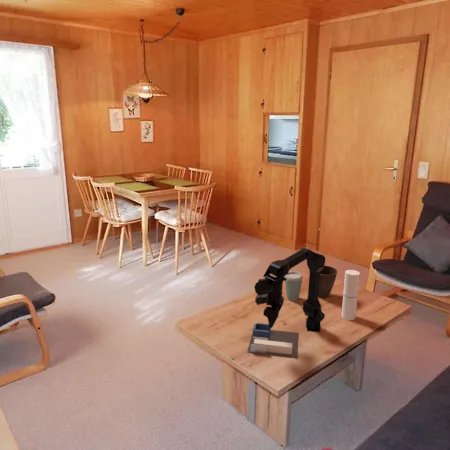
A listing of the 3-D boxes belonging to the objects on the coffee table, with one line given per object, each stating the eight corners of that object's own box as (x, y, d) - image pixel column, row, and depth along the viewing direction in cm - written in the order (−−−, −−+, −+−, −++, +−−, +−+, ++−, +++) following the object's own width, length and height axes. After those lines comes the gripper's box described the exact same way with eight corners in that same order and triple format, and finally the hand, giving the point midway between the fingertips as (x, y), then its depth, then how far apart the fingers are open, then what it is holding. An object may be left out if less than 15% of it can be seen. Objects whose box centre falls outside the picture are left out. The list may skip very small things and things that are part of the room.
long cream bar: (292, 350, 185) (292, 343, 184) (291, 354, 181) (292, 347, 180) (254, 345, 188) (254, 338, 187) (253, 350, 185) (253, 343, 184)
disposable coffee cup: (301, 303, 231) (302, 278, 227) (282, 301, 233) (283, 277, 229) (301, 295, 241) (303, 271, 237) (283, 293, 243) (284, 270, 239)
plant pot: (316, 287, 251) (318, 263, 247) (339, 294, 242) (341, 269, 238) (304, 296, 240) (306, 270, 236) (328, 303, 231) (330, 276, 227)
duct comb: (298, 333, 199) (299, 326, 198) (297, 359, 178) (297, 351, 177) (253, 329, 203) (253, 321, 202) (246, 353, 183) (247, 345, 182)
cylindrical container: (340, 318, 215) (343, 273, 208) (343, 312, 221) (346, 268, 214) (354, 321, 211) (358, 276, 205) (356, 315, 217) (361, 271, 211)
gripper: (261, 280, 192) (259, 311, 195) (253, 295, 174) (250, 329, 178) (285, 284, 189) (282, 316, 192) (279, 299, 171) (275, 333, 175)
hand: (272, 323), depth 184 cm, fingers open, 9 cm apart
